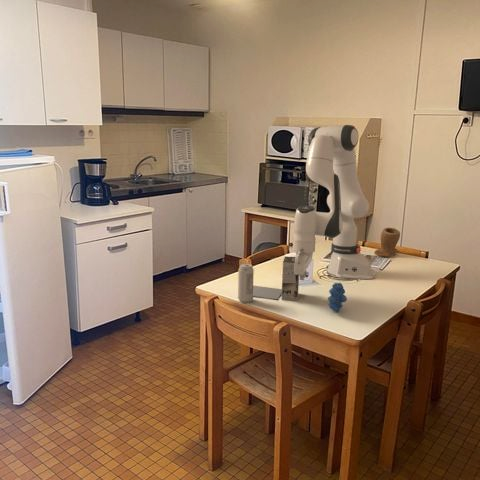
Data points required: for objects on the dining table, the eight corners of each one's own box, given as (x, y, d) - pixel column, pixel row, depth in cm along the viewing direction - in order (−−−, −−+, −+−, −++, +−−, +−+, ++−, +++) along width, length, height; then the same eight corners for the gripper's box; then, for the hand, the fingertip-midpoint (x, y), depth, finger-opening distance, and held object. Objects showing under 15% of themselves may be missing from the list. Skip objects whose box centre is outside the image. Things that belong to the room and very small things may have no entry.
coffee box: (296, 300, 196) (298, 263, 192) (281, 299, 197) (282, 261, 193) (298, 293, 205) (300, 256, 200) (283, 291, 206) (284, 255, 202)
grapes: (339, 319, 179) (341, 288, 176) (323, 314, 183) (324, 284, 180) (352, 309, 188) (354, 280, 185) (336, 305, 192) (338, 276, 189)
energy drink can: (244, 296, 200) (244, 262, 196) (255, 300, 196) (256, 265, 192) (235, 300, 195) (235, 265, 191) (246, 304, 191) (247, 268, 188)
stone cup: (392, 260, 253) (394, 232, 249) (371, 255, 261) (373, 228, 257) (404, 254, 264) (406, 227, 260) (383, 250, 272) (386, 224, 268)
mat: (283, 290, 208) (283, 289, 207) (277, 300, 197) (277, 299, 196) (248, 285, 212) (248, 284, 212) (240, 295, 201) (240, 294, 201)
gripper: (307, 254, 183) (305, 288, 187) (315, 241, 202) (314, 272, 206) (290, 252, 185) (289, 286, 189) (301, 239, 204) (299, 271, 207)
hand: (302, 279), depth 197 cm, fingers closed
